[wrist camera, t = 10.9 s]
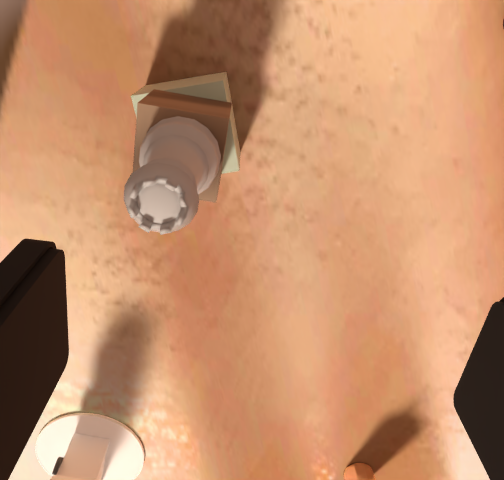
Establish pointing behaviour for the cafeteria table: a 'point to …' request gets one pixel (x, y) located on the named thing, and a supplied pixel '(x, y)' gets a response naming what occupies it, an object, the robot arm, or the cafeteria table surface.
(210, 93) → the base block
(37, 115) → the cafeteria table surface
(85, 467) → the panda figurine
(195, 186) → the rook chess piece
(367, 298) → the cafeteria table surface
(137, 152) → the top block
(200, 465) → the cafeteria table surface
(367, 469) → the milkshake
